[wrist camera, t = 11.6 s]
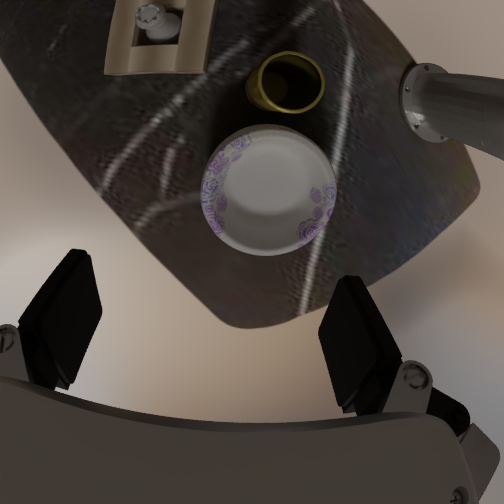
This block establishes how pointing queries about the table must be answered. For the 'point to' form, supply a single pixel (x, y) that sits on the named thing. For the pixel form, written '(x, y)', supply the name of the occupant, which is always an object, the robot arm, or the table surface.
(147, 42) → the socket block
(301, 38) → the table surface
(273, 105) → the vase
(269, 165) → the paper bowls
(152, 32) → the rook chess piece
